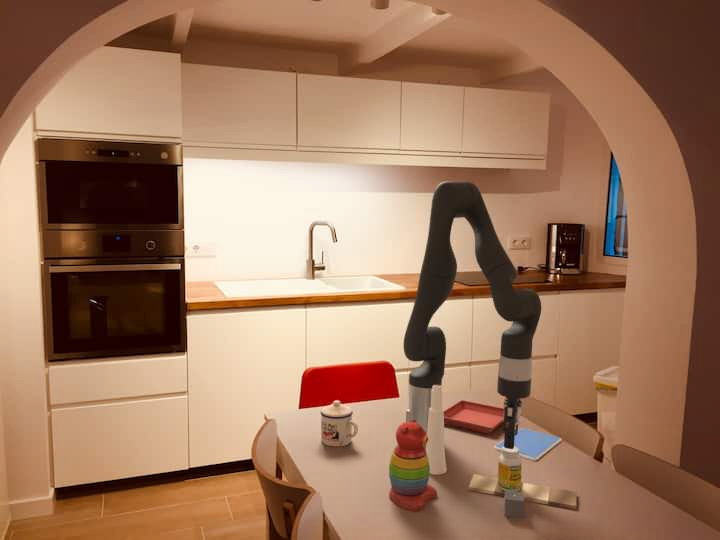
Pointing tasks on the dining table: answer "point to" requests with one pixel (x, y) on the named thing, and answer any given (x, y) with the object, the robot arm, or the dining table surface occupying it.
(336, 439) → the teacup with lid
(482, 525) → the dining table surface
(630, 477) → the dining table surface
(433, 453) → the cosmetic bottle
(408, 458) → the stacking bear
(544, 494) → the track
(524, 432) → the blue flat rectangular panel
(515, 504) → the die
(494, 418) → the plant saucer
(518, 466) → the supplement bottle
